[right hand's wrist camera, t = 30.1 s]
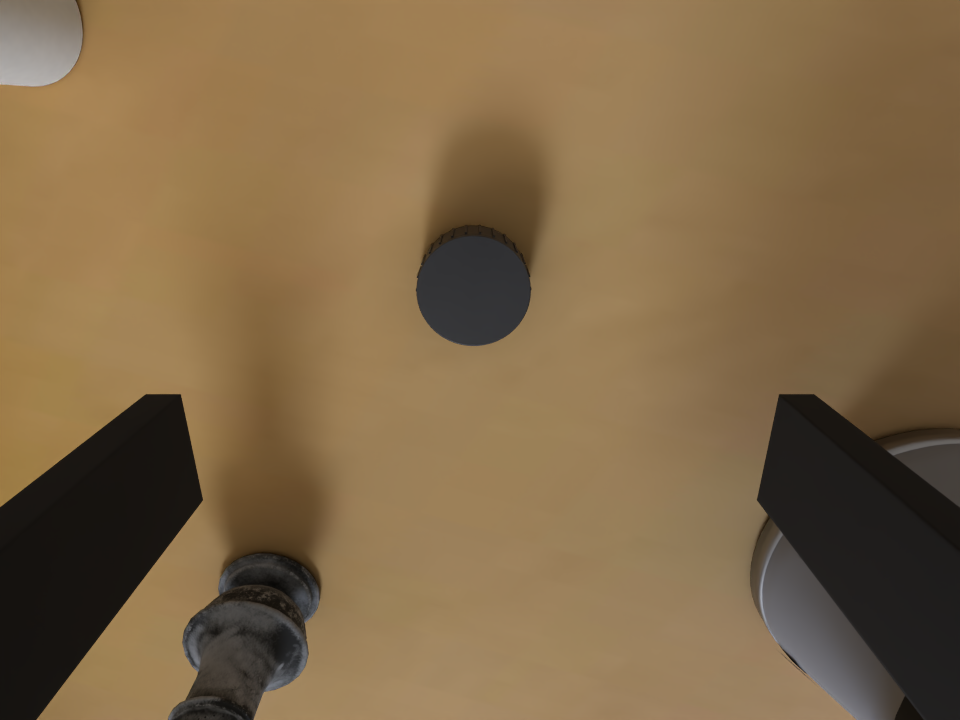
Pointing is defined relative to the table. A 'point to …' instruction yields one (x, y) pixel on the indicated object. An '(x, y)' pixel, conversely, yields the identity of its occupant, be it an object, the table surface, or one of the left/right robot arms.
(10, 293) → the table surface
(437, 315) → the cap
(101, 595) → the right robot arm
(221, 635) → the grey tall turned piece
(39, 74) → the bottle
